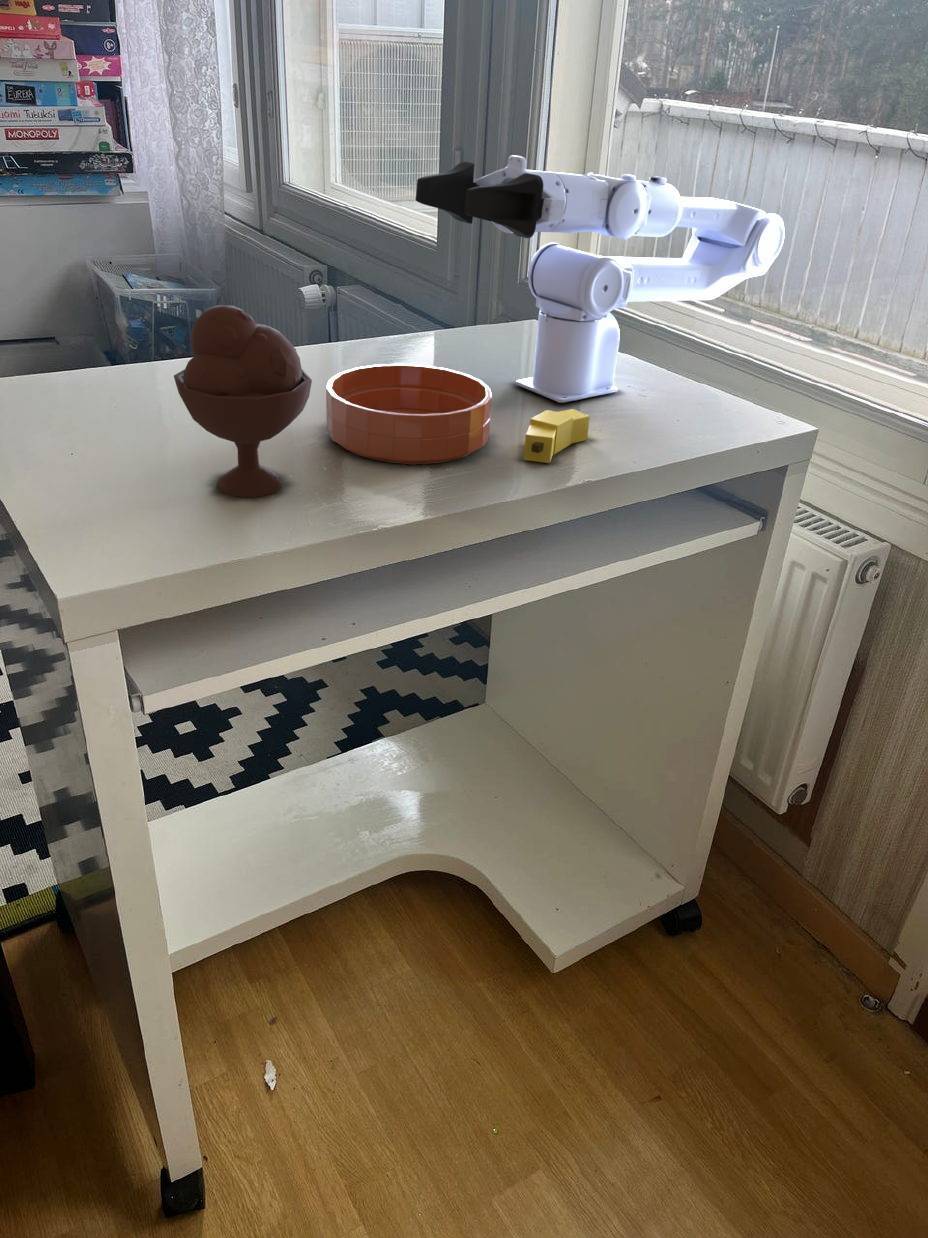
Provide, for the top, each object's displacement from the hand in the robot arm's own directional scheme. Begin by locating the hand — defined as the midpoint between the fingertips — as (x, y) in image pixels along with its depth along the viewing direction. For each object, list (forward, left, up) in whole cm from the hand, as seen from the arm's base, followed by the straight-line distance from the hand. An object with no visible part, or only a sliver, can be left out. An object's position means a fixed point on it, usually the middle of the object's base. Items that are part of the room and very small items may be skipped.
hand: (442, 195), depth 90 cm
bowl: (+6, +4, -22) cm, 23 cm away
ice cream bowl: (+25, +7, -22) cm, 34 cm away
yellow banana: (-5, +13, -22) cm, 26 cm away
